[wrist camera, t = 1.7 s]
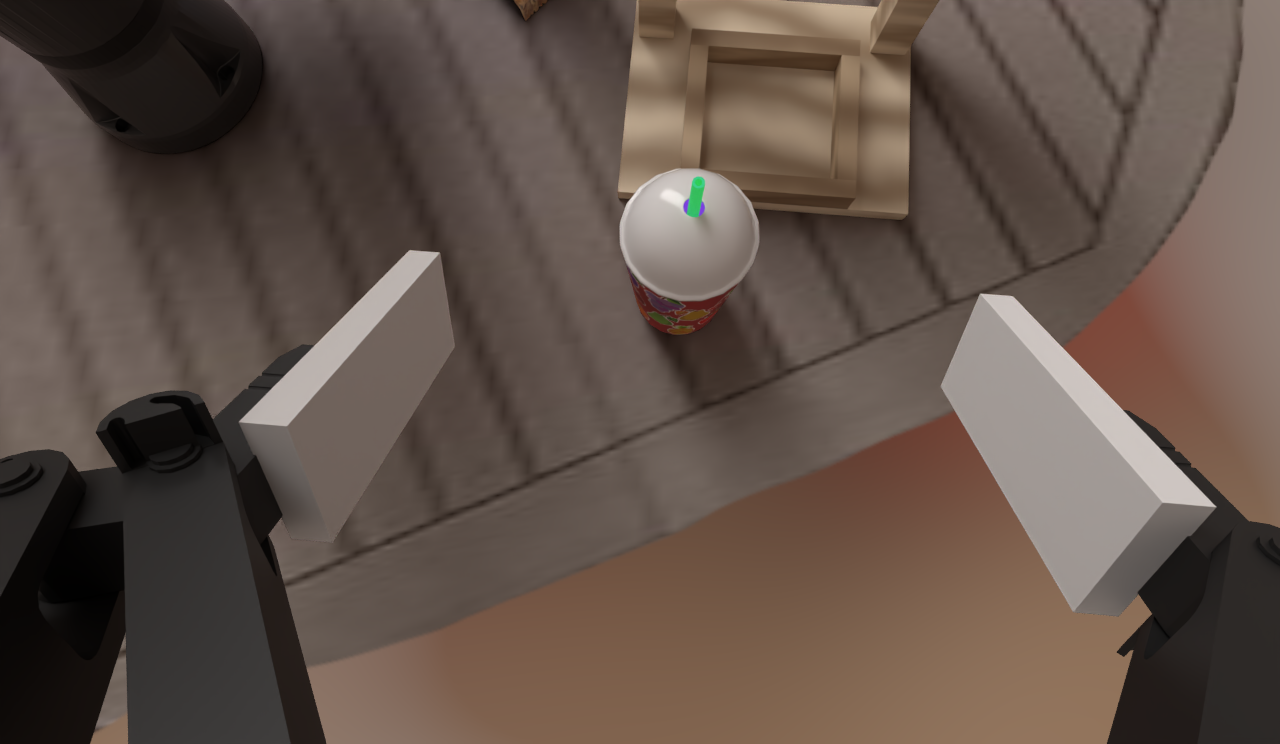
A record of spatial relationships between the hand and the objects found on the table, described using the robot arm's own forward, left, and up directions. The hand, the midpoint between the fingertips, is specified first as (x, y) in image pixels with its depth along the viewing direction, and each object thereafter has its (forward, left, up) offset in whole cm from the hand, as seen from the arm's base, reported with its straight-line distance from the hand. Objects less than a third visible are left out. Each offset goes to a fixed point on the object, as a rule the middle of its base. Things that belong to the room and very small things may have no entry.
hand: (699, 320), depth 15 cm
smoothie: (-8, +6, -33) cm, 34 cm away
